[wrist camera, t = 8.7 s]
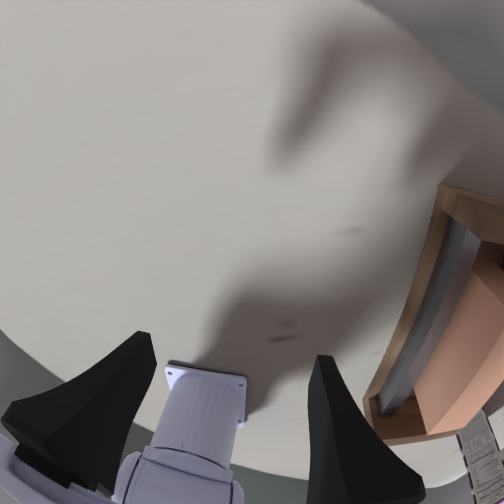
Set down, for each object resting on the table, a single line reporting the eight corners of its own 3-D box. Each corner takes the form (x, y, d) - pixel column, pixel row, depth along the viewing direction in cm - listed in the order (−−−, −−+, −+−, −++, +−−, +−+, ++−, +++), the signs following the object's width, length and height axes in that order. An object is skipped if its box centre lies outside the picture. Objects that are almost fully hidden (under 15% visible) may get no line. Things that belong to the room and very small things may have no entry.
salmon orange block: (442, 371, 22) (463, 427, 16) (408, 373, 22) (427, 435, 16) (495, 262, 17) (543, 314, 11) (460, 258, 17) (510, 315, 11)
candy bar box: (486, 418, 28) (511, 499, 13) (460, 434, 30) (480, 516, 15) (479, 393, 25) (514, 495, 10) (447, 413, 27) (474, 517, 12)
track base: (439, 394, 25) (453, 435, 20) (362, 399, 26) (369, 447, 20) (526, 207, 15) (571, 237, 10) (439, 183, 16) (488, 212, 11)
